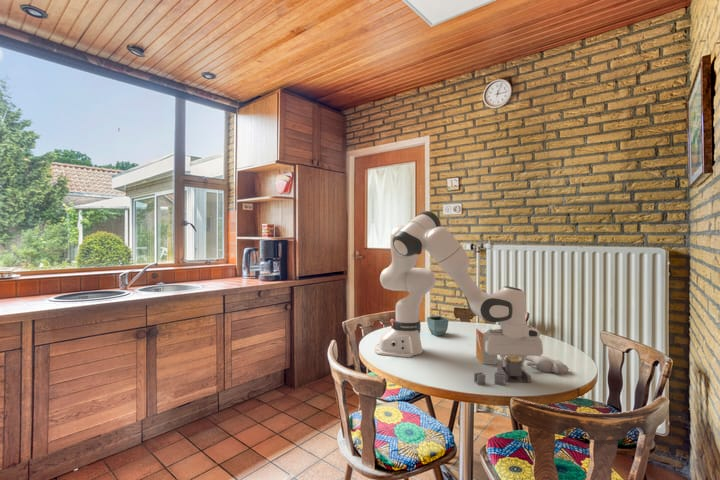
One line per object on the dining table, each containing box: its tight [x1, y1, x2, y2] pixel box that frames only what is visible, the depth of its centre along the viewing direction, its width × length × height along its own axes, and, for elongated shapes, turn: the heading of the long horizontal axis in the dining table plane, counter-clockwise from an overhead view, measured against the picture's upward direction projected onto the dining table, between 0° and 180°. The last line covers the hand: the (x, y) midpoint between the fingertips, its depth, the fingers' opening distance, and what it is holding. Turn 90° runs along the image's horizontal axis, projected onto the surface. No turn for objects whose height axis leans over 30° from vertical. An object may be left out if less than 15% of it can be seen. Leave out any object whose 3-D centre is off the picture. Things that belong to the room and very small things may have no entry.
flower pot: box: [426, 315, 450, 337], centre depth 187 cm, size 9×9×9 cm
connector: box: [504, 355, 521, 376], centre depth 129 cm, size 4×5×6 cm
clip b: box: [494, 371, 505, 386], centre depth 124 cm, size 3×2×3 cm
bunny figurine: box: [525, 355, 570, 375], centre depth 136 cm, size 10×5×15 cm
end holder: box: [496, 365, 532, 384], centre depth 129 cm, size 9×9×2 cm
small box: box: [475, 327, 498, 365], centre depth 147 cm, size 8×6×13 cm
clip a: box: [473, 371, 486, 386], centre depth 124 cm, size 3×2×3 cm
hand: (513, 366), depth 129 cm, fingers closed on connector, 4 cm apart
